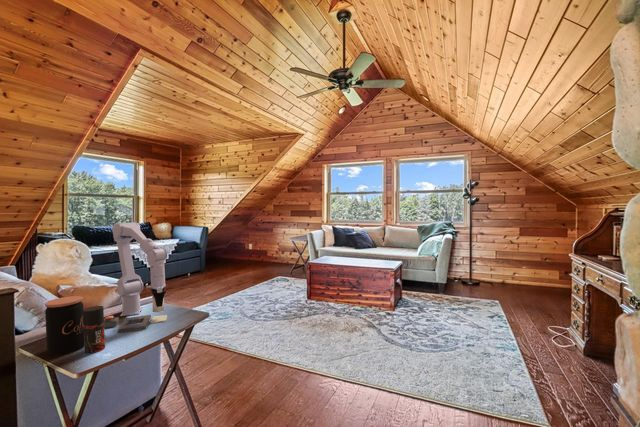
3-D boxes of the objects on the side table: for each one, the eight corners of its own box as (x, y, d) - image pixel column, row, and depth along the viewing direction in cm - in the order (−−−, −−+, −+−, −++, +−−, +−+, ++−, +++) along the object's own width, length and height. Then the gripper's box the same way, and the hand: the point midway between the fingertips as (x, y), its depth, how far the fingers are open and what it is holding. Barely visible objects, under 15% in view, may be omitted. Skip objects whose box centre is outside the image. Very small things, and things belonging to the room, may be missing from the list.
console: (103, 324, 135) (102, 319, 135) (119, 322, 137) (118, 317, 137) (99, 328, 130) (99, 323, 130) (116, 326, 132) (115, 320, 132)
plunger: (106, 324, 134) (105, 316, 134) (114, 322, 136) (114, 315, 135) (104, 326, 131) (103, 318, 131) (112, 325, 133) (112, 317, 132)
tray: (153, 317, 142) (153, 316, 142) (167, 315, 144) (167, 314, 144) (150, 323, 135) (150, 322, 135) (165, 321, 137) (165, 320, 137)
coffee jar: (64, 357, 106) (62, 305, 105) (38, 355, 107) (36, 304, 107) (92, 343, 116) (90, 296, 116) (68, 341, 118) (66, 295, 118)
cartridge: (151, 310, 140) (151, 294, 140) (163, 308, 143) (163, 293, 143) (152, 313, 136) (152, 297, 136) (164, 311, 139) (164, 295, 139)
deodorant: (94, 354, 107) (92, 311, 107) (80, 352, 108) (78, 310, 108) (109, 346, 113) (107, 306, 113) (95, 345, 114) (94, 305, 114)
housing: (125, 321, 138) (125, 318, 138) (150, 317, 142) (150, 314, 142) (117, 333, 125) (117, 329, 125) (145, 328, 129) (145, 325, 129)
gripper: (146, 273, 143) (147, 302, 143) (148, 279, 131) (149, 311, 131) (163, 271, 147) (164, 299, 147) (167, 277, 135) (168, 307, 135)
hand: (158, 304), depth 139 cm, fingers closed on cartridge, 5 cm apart
